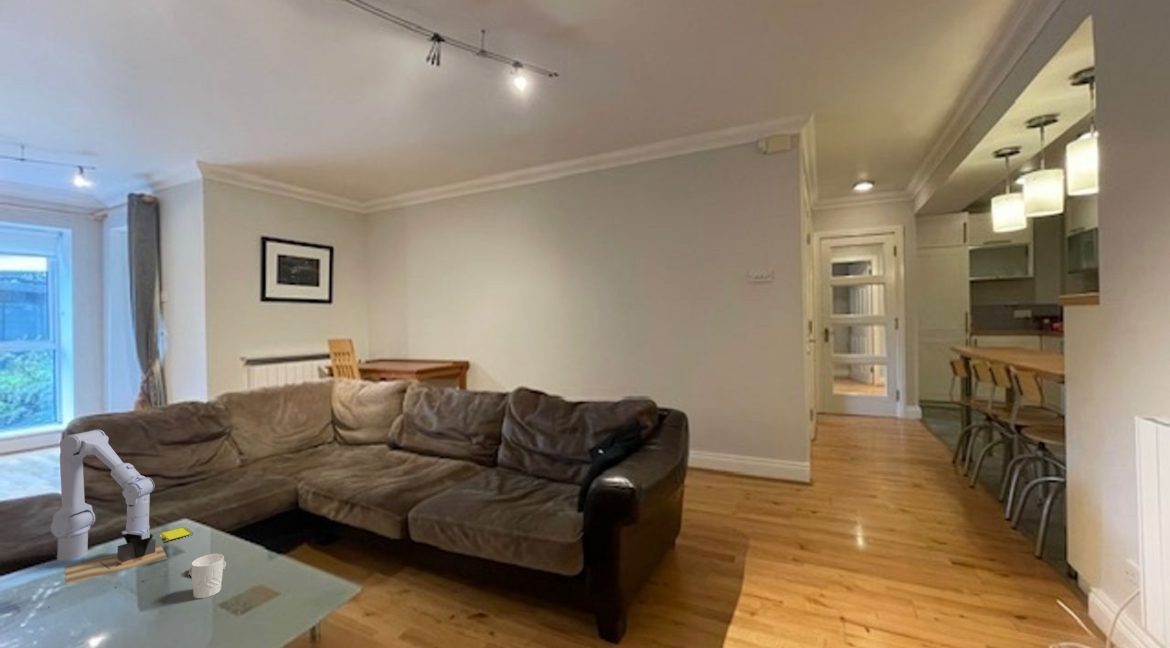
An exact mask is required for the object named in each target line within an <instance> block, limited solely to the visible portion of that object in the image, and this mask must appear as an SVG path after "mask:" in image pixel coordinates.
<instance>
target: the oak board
mask: <svg viewBox="0 0 1170 648" xmlns="http://www.w3.org/2000/svg"><path fill="white" fill-rule="evenodd" d="M155 552H156V555H153V556H150V557H146V558H143V559H140V560H137V561H133V562H130V563H127V564H123V565H121V564H120V563H119V562H117V557H118V553H117V554H113V555H109V556H105V557H100V558H96V559H92V560H87V561H84V562H79V563H75V564H71V565H68V566H67V565H66V566H64V571H65V572H64V573H65V583H66V585H71V584H74V583H78V582H83V581H86V580H90V579H95V578H97V577H98V578H99V577H102V576H106V575H110V574H114V573H117V572H121V571H125V570H128V569H133V568H135V567H136V568H137V567H141V566H145V565H148V564H149V565H150V564H152V563H153V564H154V563H157V562H160V561H163V560H164V561H165V560H168V559H169V558H168V555H167V554H166V552H165V550H164V548H163V547H162V544H161V543H159V544H156V545H155Z"/></svg>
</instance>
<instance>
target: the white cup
mask: <svg viewBox="0 0 1170 648" xmlns="http://www.w3.org/2000/svg"><path fill="white" fill-rule="evenodd" d="M212 554H213V555H208V554H206V555H207V556H205V555H202V556H203V557H201V556H199V557H200V558H199V557H197V558H198V559H196V558H195V560H193V561H192V562H191V568H192V577H191V582H192V596H193V598H194V599H206V598H210V597H213V596H214V595H216V594H219V592H220V591H222V580H223V574H224V573H223V572H224V570H223V563H224V561H225V556H224V555H223V554H221V553H216V554H215V553H212ZM220 554H221V555H220Z"/></svg>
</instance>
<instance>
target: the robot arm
mask: <svg viewBox="0 0 1170 648" xmlns="http://www.w3.org/2000/svg"><path fill="white" fill-rule="evenodd" d="M109 441H110V439H109V436H108V435H106V432H104V431H103V430H102V429H99V428H98V429H93V430H90V431H85V432H80V433H79V432H78V433H75V434H74V433H73V434H68V435H66V436H65V437H64V438H63V439H61V440H60V441H59V448H60V453H59V470H60V471H59V472H60V489H61V490H60V491H61V507H60V509H58V511H57V512H55V513H54V515H52V523H51V525H50V531H51V534H52V535H53V536H54V537H55V538H57V555H56V556H55V558H56V559H57V561H59V562H65V561H66V562H67V561H72V560H76V559H79V558H82V557H85V556H86V555H87V554H88V552H89V551H88V550H89V547H88V544H89V542H88V541H89V531H90V530H91V526H93V525H94V523H95V522H96V515H95V513H94V511H93V506H92V505H91V504H88V503H86V501H85V481H84V461H83V459H84V458H85V457H86V456H88V455H91V456H92V455H94V457H96V458H97V459H99V460H100V461H101V462H102V463H103V464H104V465H105V466H107V467H108V468H109V469H110V470H111V471H110V476H111V477H112V478H113V480H114V481H116V483H117V484H118V485H120V487H121V488H122V489H123V490H122V491H121V493H122V496H123V497H124V499H125V504H126V505H127V506H126V524H125V530H122V531H121V534H122V537H123V539H124V540H125V542H126V544H127V543H131V542H132V544H133V547H134V552H135V557H136V558H139V557H142V556H144V555H145V552H146V549H147V546H148V544H149V542H150V540H151V538H153V534H152V533H151V531H150V527H151V526H150V503H151V502H150V496H151V495H150V494H151V493H152V492H154V490H155V487H156V486H155V482H154V480H153V479H152V478H150V477H148V476H147V477H146V476H144V475H141V473H140V472H139V471H138V470H137V469H136V468H135V466H134V465H133V464H131V463H129V462H123V460H122V459H121V458H120V457H119V455H118V454H117V453H116V452H115V450H114V449H113V447H111V445H110V444H109Z"/></svg>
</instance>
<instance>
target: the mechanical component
mask: <svg viewBox="0 0 1170 648" xmlns="http://www.w3.org/2000/svg"><path fill="white" fill-rule="evenodd" d="M213 554H217V553H216V552H215V553H212V554H211V553H208V554H206V555H201V556H199V557H197V558H195V560H196V559H198V558H200V557H203V556H207V555H213ZM219 554H220V555H222V554H221V553H219ZM225 567H227V562H226V561H225V560H224V563H223V569H224V570H225V569H226V568H225ZM189 575H190V576H192V567H190V568H189V569H188V576H189ZM190 576H189V577H190Z"/></svg>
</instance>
